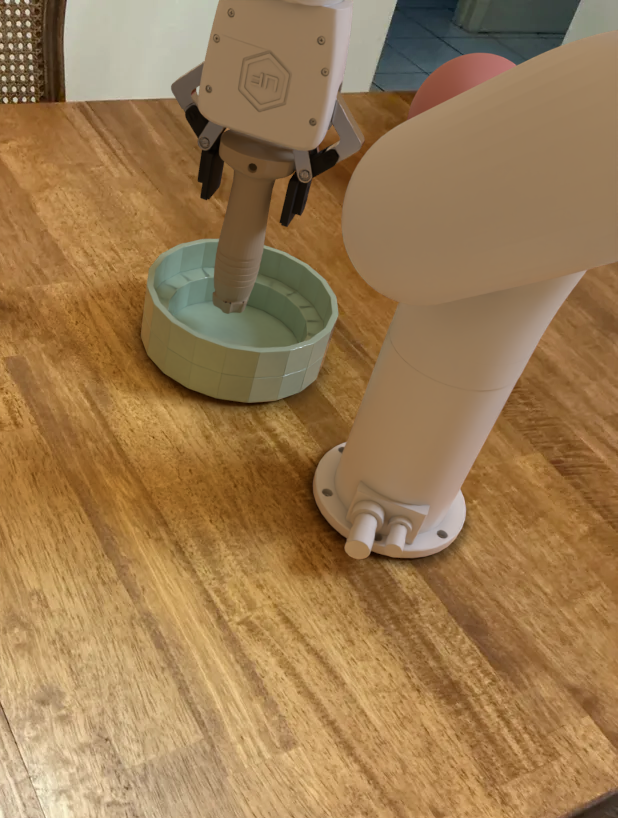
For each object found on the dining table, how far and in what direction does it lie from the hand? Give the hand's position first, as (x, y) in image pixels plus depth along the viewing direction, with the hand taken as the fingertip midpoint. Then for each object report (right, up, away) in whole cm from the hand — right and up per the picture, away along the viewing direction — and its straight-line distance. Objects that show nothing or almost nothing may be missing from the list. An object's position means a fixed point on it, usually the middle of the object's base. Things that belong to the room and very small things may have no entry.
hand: (249, 204), depth 73 cm
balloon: (+29, +16, +39) cm, 51 cm away
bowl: (-1, -10, +9) cm, 14 cm away
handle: (-2, -7, +8) cm, 10 cm away
